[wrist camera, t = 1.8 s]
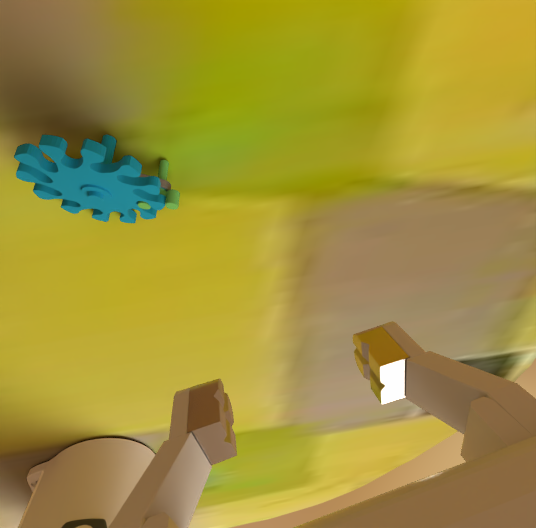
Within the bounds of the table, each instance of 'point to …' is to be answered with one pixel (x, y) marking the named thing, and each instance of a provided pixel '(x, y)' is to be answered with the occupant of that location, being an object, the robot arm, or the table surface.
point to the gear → (95, 179)
